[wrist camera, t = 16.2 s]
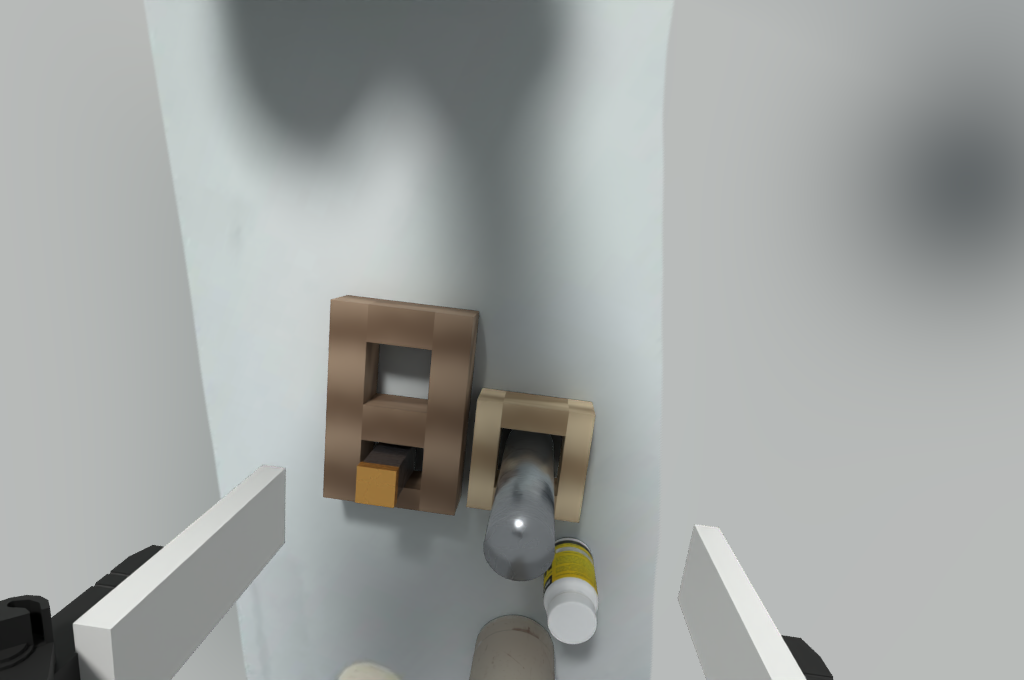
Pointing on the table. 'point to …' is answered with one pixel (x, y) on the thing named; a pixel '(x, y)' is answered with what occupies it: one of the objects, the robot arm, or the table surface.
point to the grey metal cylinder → (523, 509)
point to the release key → (384, 474)
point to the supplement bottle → (571, 592)
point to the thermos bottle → (513, 651)
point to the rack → (537, 417)
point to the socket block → (399, 397)
